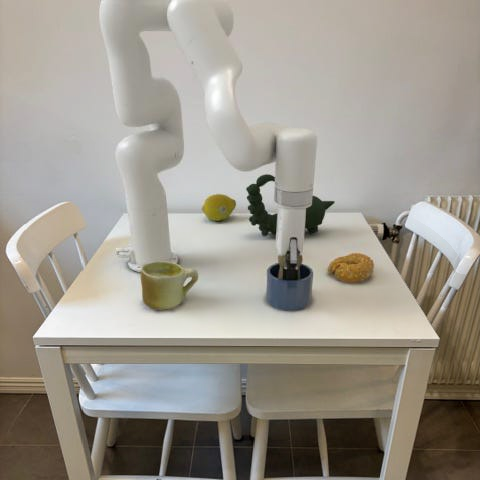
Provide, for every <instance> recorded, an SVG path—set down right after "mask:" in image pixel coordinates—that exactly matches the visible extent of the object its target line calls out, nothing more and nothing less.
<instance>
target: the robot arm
mask: <svg viewBox="0 0 480 480" xmlns="http://www.w3.org/2000/svg"><path fill="white" fill-rule="evenodd" d="M98 12H99V13H98V18H99V27H100V32H101V36H102V39H103V43H104V46H105V51H106V53H107V59H108V66H109V74H110V83H111V89H112V95H113V102H114V107H115V112H116V116H117V118H118V120H119V122H121V124H123V125H124V126H126V127H128V128H141V127H146V126H148V127H149V130H144V131H141V132H136V133H133V134H130V135H127V136H125V137H124V138H122V139H121V140H120V141H119V142H118V144H117V146H116V148H115V162H116V166H117V169H118V171H119V175H120V178H121V181H122V186H123V190H124V196H125V203H126V210H127V217H128V225H129V233H130V239H131V240H130V241H131V245H129V246H128V247H121V246H119V247H116V248H115V254H116V255H117V256H118V257H119V259H125V258H126V259H127V264H128V267H129V269H131V270H132V271H134V272H137V273H141V268H142V266H143V265H144V264H146V263H151V262H153V261H168V262H173V263H177V264H178V263H179V257H178V255H177V254H176V253H175V252H173V251H172V246H171V236H170V225H169V214H168V203H167V202H168V201H167V194H166V189H165V187H164V185H163V184H162V182H161V180H160V178H159V176H158V175H159V174H161V173H162V172H165V171H167V170H170V169H173V168H175V167H176V166H178V165H179V164H180V163H181V162H182V160H183V157H184V153H185V141H184V140H185V137H184V128H183V126H184V125H183V114H182V104H181V98H180V95H179V93H178V90H177V88H176V86H175V85H174V84H173V83H172V81H171V80H169V79H167V78H165V77H163V76H159V75H158V76H157V75H156V76H155V75H154V76H153V74H152V68H151V67H152V66H151V58H150V54H149V51H148V48H147V46H146V44H145V42H144V40H143V38H142V37H141V36H140V35H141V33H143V32H171V33H172V35H173V37H174V39H175V41H176V42H177V44H178V47H180V49H181V51H182V53H183V55H184V57H185V58H186V60H187V62H188V64H189V65H190V67H191V69H192V71H193V72H194V74H195V76H196V78H197V79H198V82H199V83H200V85H201V86H202V89H203V92H204V93H203V94H204V95H203V97H204V100H203V101H204V111H205V118H206V123H207V126H208V127H207V128H208V129H209V132H210V134H211V137H212V138H213V140H214V142H215V143H216V145H217V147H218V149H219V150H220V152H221V154H222V155H223V157H224V158H225V160H226V161H227V162H228V163H229V165H230V166H232V168H233V169H235V170H237V171H240V172H251V171H254V170H257V169H259V168H261V167H263V166H266V165H271V164H274V163H275V165H274V166H275V167H274V169H275V170H274V177H275V182H274V191H273V204H274V205H275V206H276V207H277V213H278V215H277V230H276V235H275V246H276V250H277V254H278V255H279V256H282V255H284V267H283V274H282V280H298V255H299V256H301V255H302V256H303V253H304V245H305V244H304V242H305V232H306V231H305V230H306V229H305V219H306V218H305V217H306V208H308V207H310V206H311V205H312V197H313V196H314V195H313V194H314V184H315V171H316V160H317V159H316V158H317V147H318V146H317V145H318V136H317V134H316V132H315V131H314V130H312V129H309V128H304V127H288V126H284V125H280V124H277V123H275V122H261V123H258V124H255V125H251V126H248V124H247V122H246V121H245V119H244V117H243V115H242V113H241V111H240V109H239V106H238V104H237V100H236V84H237V81H238V79H239V78H240V76H241V75H242V71H243V62H242V61H241V59H240V57H239V56H238V53H237V52H236V50H235V48H234V46H233V45H232V43H231V41H230V39H229V37H230V35H231V34H232V32H233V30H234V23H235V22H234V20H235V19H234V13H233V9H232V7H231V5H230V4H229V2H228V1H227V0H100V4H99V9H98ZM287 251H290V254H287ZM287 257H290V260H288V262H287Z"/></svg>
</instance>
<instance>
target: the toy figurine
mask: <svg viewBox="0 0 480 480" xmlns="http://www.w3.org/2000/svg"><path fill="white" fill-rule="evenodd" d="M269 182H273V183H275V175H273V174H270V173H269V174H267V173H266V174H261V175H259V177H257V179H256V182H255V183H251V184H250V185H248V186H246V188H245V190H246V192H247V194H248V195H247V196H246V199H247V201H248V203H249V205H247V210H248V211H249V214H251V215H250V216H249V218H248V221H249V223H250V225H251V226H253V227H255V226H258V230H259V232H261V235H262V236H263V237H267V236H269V233H271V234H272V235H274V236H276V230H277V215H278V212H276V213H273V214H271V213H269V212H268V210H266V206H265V204H264V201H263V195H262V193H261V188H263V187H264V186H265V185H266V184H267V183H269ZM260 187H261V188H260ZM334 204H335V200H322V199H321V198H320V197H318V196H315V195H313V197H312V205H311V206H310V207H308V208H306V217H305V218H306V219H305V230H306V231H307V232H308V233H309V234H312V235H315V234H317V232H319V226H320V225H322V224H323V221H324V219H325V215H326V211H327V210H328V209H329V208H330V207H332V206H333V205H334Z"/></svg>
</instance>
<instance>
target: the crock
mask: <svg viewBox="0 0 480 480" xmlns="http://www.w3.org/2000/svg"><path fill="white" fill-rule="evenodd" d="M299 268H300V280H282V279H278V275H279V270H280V265H279V263H278V262H275V263H274V264H272V265H269V267H268V268H267V269H266V290H265V291H266V292H265V293H266V294H265V295H266V302H267V304H268V305H269V306H270V307H271V308H275V309H277V310H281V311H285V312H286V311H287V312H293V311H300V310H303V309H305V308H307V307H309V306H310V304H311V302H312V297H313V296H312V294H313V283H314V270H313V268H311V267H310V266H309V265H307V264H304V263H302V264H301V266H300V267H299Z"/></svg>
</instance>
